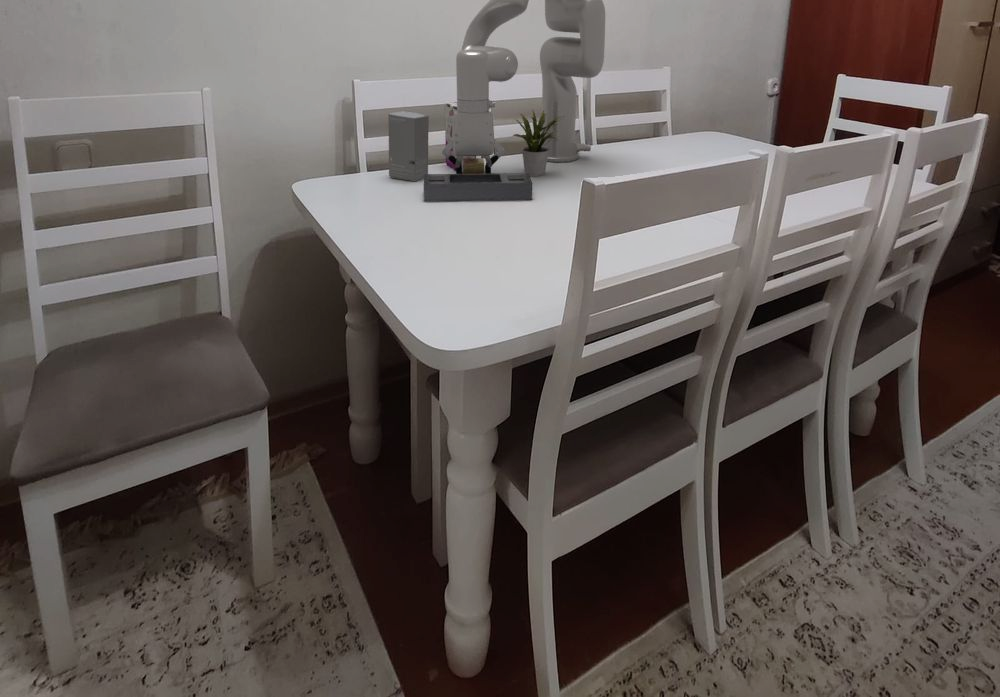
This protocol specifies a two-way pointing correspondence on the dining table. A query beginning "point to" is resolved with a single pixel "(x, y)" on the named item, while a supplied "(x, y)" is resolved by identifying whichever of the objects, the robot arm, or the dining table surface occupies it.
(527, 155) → the house plant
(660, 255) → the dining table surface
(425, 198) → the grey slotted block
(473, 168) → the brass block
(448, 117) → the candy bar box
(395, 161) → the skincare box
